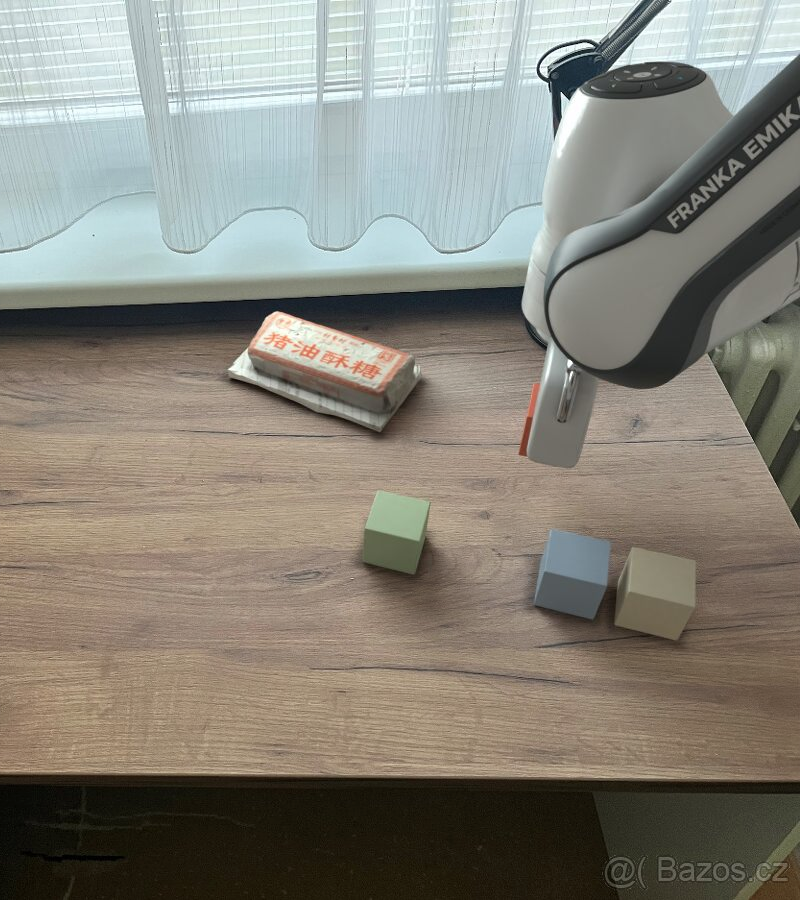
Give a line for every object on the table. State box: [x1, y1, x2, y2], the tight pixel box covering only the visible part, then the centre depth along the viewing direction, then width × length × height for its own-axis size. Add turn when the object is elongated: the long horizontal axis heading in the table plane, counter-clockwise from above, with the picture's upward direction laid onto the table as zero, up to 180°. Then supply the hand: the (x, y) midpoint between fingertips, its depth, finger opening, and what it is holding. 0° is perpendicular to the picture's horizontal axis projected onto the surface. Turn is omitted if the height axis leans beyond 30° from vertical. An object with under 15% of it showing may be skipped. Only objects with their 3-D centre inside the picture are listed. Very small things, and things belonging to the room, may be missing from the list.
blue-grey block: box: [533, 528, 612, 620], centre depth 69 cm, size 4×4×4 cm
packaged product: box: [226, 310, 423, 433], centre depth 90 cm, size 18×5×10 cm
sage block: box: [361, 489, 432, 576], centre depth 74 cm, size 4×4×4 cm
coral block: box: [518, 382, 540, 458], centre depth 74 cm, size 4×4×4 cm
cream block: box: [613, 546, 697, 641], centre depth 67 cm, size 4×4×4 cm
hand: (553, 427), depth 74 cm, fingers closed on coral block, 4 cm apart
